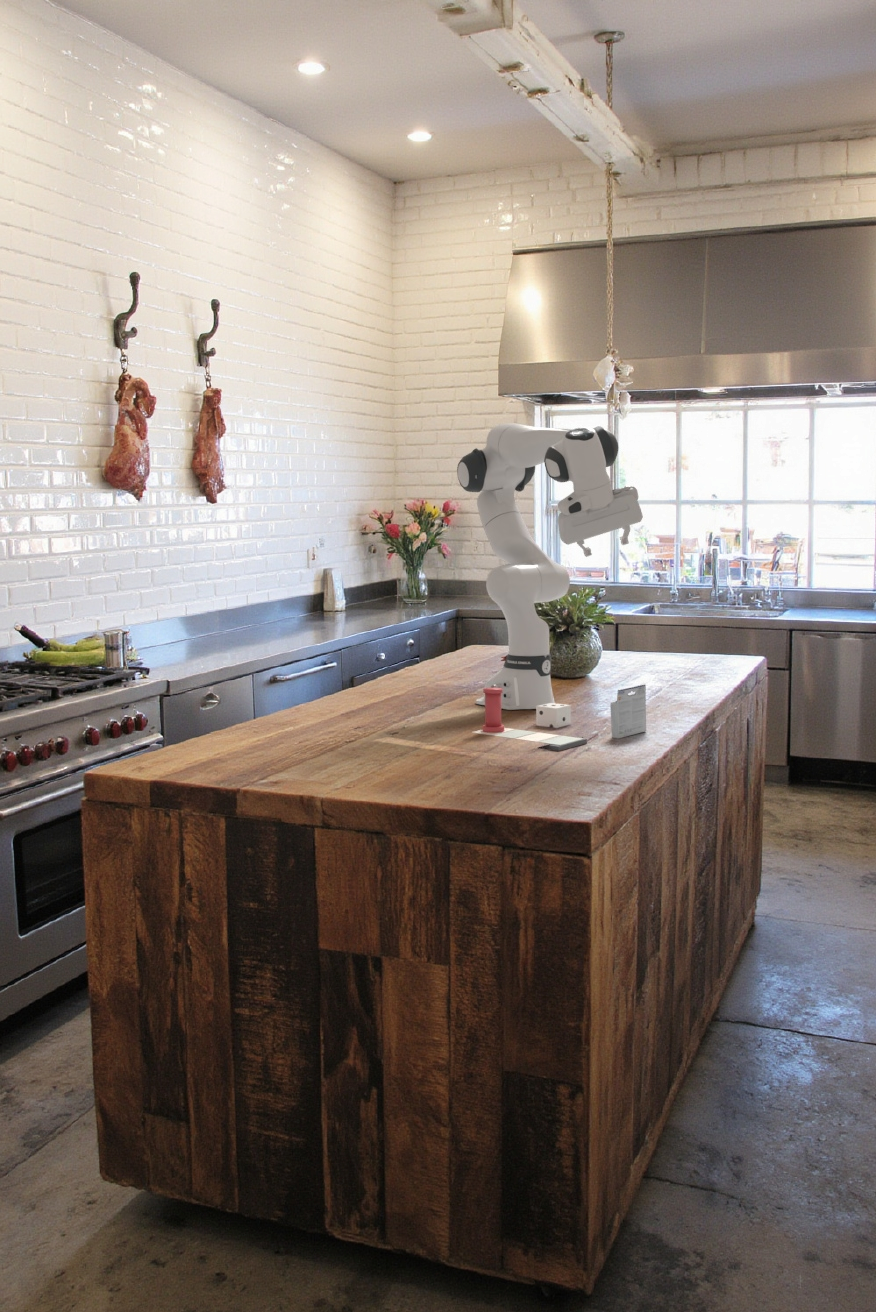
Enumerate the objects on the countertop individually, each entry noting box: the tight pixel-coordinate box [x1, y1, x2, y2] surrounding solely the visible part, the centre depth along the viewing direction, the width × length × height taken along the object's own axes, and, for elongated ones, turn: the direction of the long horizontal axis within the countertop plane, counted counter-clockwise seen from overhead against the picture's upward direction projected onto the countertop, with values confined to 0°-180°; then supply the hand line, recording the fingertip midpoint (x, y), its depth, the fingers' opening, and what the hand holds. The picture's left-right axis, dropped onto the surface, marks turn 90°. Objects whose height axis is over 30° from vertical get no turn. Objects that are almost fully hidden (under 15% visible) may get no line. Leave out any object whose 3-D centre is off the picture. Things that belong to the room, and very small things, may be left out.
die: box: [535, 702, 572, 729], centre depth 281 cm, size 6×6×6 cm
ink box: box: [610, 684, 647, 740], centre depth 272 cm, size 12×2×12 cm, turn 135°
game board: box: [471, 727, 588, 752], centre depth 268 cm, size 26×11×1 cm, turn 49°
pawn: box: [481, 687, 505, 734], centre depth 274 cm, size 5×5×10 cm
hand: (606, 549), depth 281 cm, fingers open, 8 cm apart
